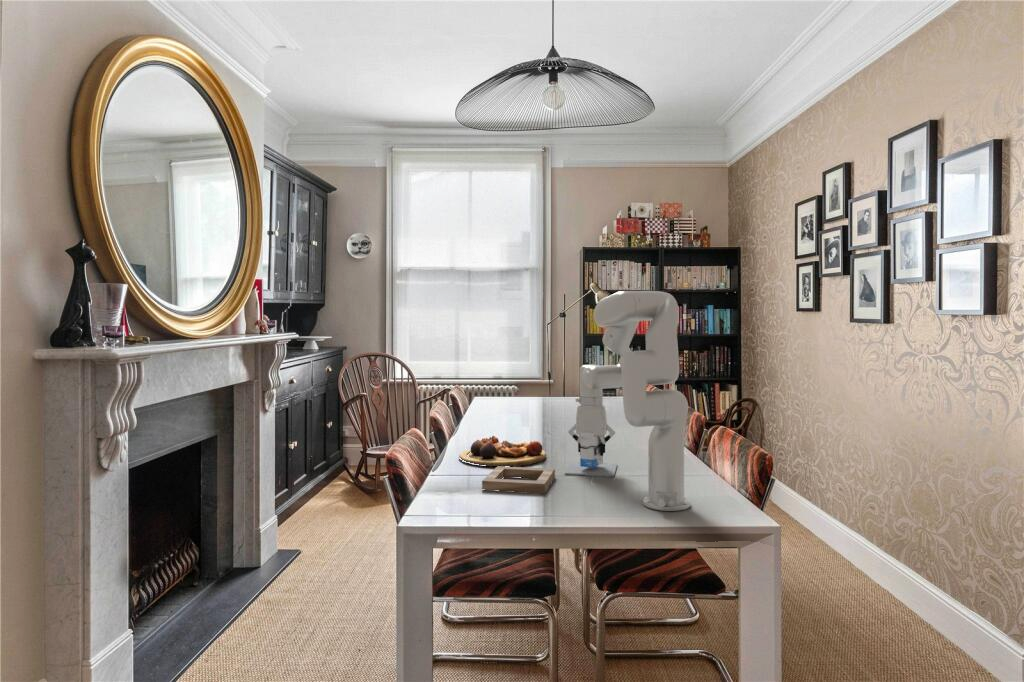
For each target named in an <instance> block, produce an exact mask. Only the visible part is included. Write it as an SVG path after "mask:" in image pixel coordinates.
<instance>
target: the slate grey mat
mask: <svg viewBox="0 0 1024 682" xmlns="http://www.w3.org/2000/svg"><path fill="white" fill-rule="evenodd" d="M617 468H618V464H617V463H605V462H603V463H602V464H600V465H598V466H596V467H594V468H590V467H582V466H580V461H579V462H577V461H576V462H575V461H571V462H570V463H569V465H568V467H567V468H566V470H565V471H564V475H565V474H567V475H566V476H580V475H585V476H587V477H602V476H605V477H606V478H607V477H609V478H613V477H615V475H616V470H617ZM605 477H604V478H605Z"/></svg>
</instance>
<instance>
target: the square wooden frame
mask: <svg viewBox="0 0 1024 682" xmlns="http://www.w3.org/2000/svg"><path fill="white" fill-rule="evenodd" d="M555 470H556V469H555V468H551V467H549V468H548V467H546V468H545V467H525V466H523V467H521V466H513V467H505V466H497V467H494V469H493V470H492V471H491V472H490V473H489V474H487V476H486V477H484V478H483V480H481V490H482V489H485V490H499V491H514V492H513V493H516V492H527V493H526V494H535V493H542V494H541V495H545V494H546V493H547V491H548V490H547V489H549V488H550V487H551V485H552V483H553V482H554V481H555V479H556V471H555ZM503 477H521V478H531V479H510V478H504V479H502V478H503ZM554 478H555V479H554ZM552 481H553V482H552ZM550 484H551V485H550ZM549 486H550V487H549Z"/></svg>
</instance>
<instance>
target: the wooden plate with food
mask: <svg viewBox="0 0 1024 682" xmlns="http://www.w3.org/2000/svg"><path fill="white" fill-rule="evenodd" d="M470 452H471V453H470ZM469 453H470V454H469ZM468 454H469V457H468V456H467V455H468ZM459 457H460V458H461V459H462V460H464V461H466V462H470V463H474V464H479V465H486V466H513V467H521V466H522V465H523V466H529V465H533V463H534V464H537V463H540V462H542V461H544V460H545V459H546V458H547V453H546V451H545V450H543V445H542V444H541V442H539V441H538V440H534V441H530V442H529V443H527V442H525V441H524V442H520V443H513V442H512V443H511V442H509V441H507V440H503V441H502V442H500V441H499V438H498V437H496V436H494V435H492V436H490V437H486V438H485V437H484V438H482V439H481V440H480V439H477V440H475V441H473V442H472V444H471V447H470V449H467V450H464V451H461V453H460V454H459V456H458V458H459Z"/></svg>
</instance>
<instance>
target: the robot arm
mask: <svg viewBox="0 0 1024 682" xmlns="http://www.w3.org/2000/svg"><path fill="white" fill-rule="evenodd" d="M679 312H680V310H679V305H678V302H677V300H676V298H675V297H674V296H673V295H672V294H671V293H668V292H666V291H665V292H664V291H659V290H622V291H621V290H620V291H617V292H615V293H613V294H610V295H608V296H605V297H604V298H602V299H600V300H599V301H598V302H597V304H596V305H595V307H594V311H593V321H594V323H595V324H596V325H597V326H598V327H600V328H606V329H605V331H604V333H603V336H602V344H603V346H604V347H605V348H606V349H607V350H609V351H610V352H611V353H614V354H617V355H618V356H620V358H619V360H618V363H617V364H608V365H600V364H583V365H581V366H580V367H579V397H575V402H576V403H579V404H578V405H577V408H576V417H575V424H574V425H573V426H572V427H571V428H570V429H569V430H568V431H567V432H568V434H569V435H570V436H571V437H572V438H573V439H574V441H576V442H577V449H578V451H577V452H578V453H580V432H581V431H582V432H595V436H599V437H600V439H601V444H600V450H601V456H603V457H604V454H605V453H606V443H607V442H608V441H610V439H611V438H612V437H613V436H614V435H615V434H616V431H614V430H613V428H611V426H610V425H609V424H608V421H607V413H606V412H607V411H606V406H605V405H604V404H603V400H604V399H603V393H604V391H603V390H604V389H618V388H621V389H622V403H623V404H622V405H623V412H624V417H625V419H626V421H627V424H629V425H631V426H633V427H635V428H636V427H637V428H641V427H642V428H643V427H644V428H645V427H653V428H652V430H651V432H650V434H649V436H648V445H647V446H648V447H647V448H648V449H647V450H648V460H647V461H648V463H647V464H648V465H647V466H648V469H647V470H648V474H647V477H648V480H647V481H648V487H647V489H648V495H647V496H644V497H643V498H642V505H644V506H645V507H646V508H649V509H652V510H657V511H663V512H679V511H685V510H687V509H689V508H690V507H691V501H690V500H689V499H688V498H686V497H685V433H686V432H685V431H686V430H685V429H686V424H687V423H686V422H687V420H688V419H687V418H688V413H689V403H688V400H687V398H686V395H685V394H683V392H681V391H679V390H676V389H670V388H669V389H667V388H665V389H653V390H647V386H659V385H668V384H669V385H670V384H673V383H675V382H676V381H678V378H679V375H680V357H679V346H678V344H679V343H678V334H677V333H678V326H679V316H680V315H679ZM640 322H650V323H649V325H648V327H647V329H646V332H645V335H644V336H645V350H633V351H632V350H631V348H630V345H631V342H632V340H633V338H634V335H635V334H636V333H635V332H636V330H637V327H638V326H639V324H640ZM607 432H609V433H608V434H607ZM606 434H607V435H606ZM605 435H606V437H605Z"/></svg>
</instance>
